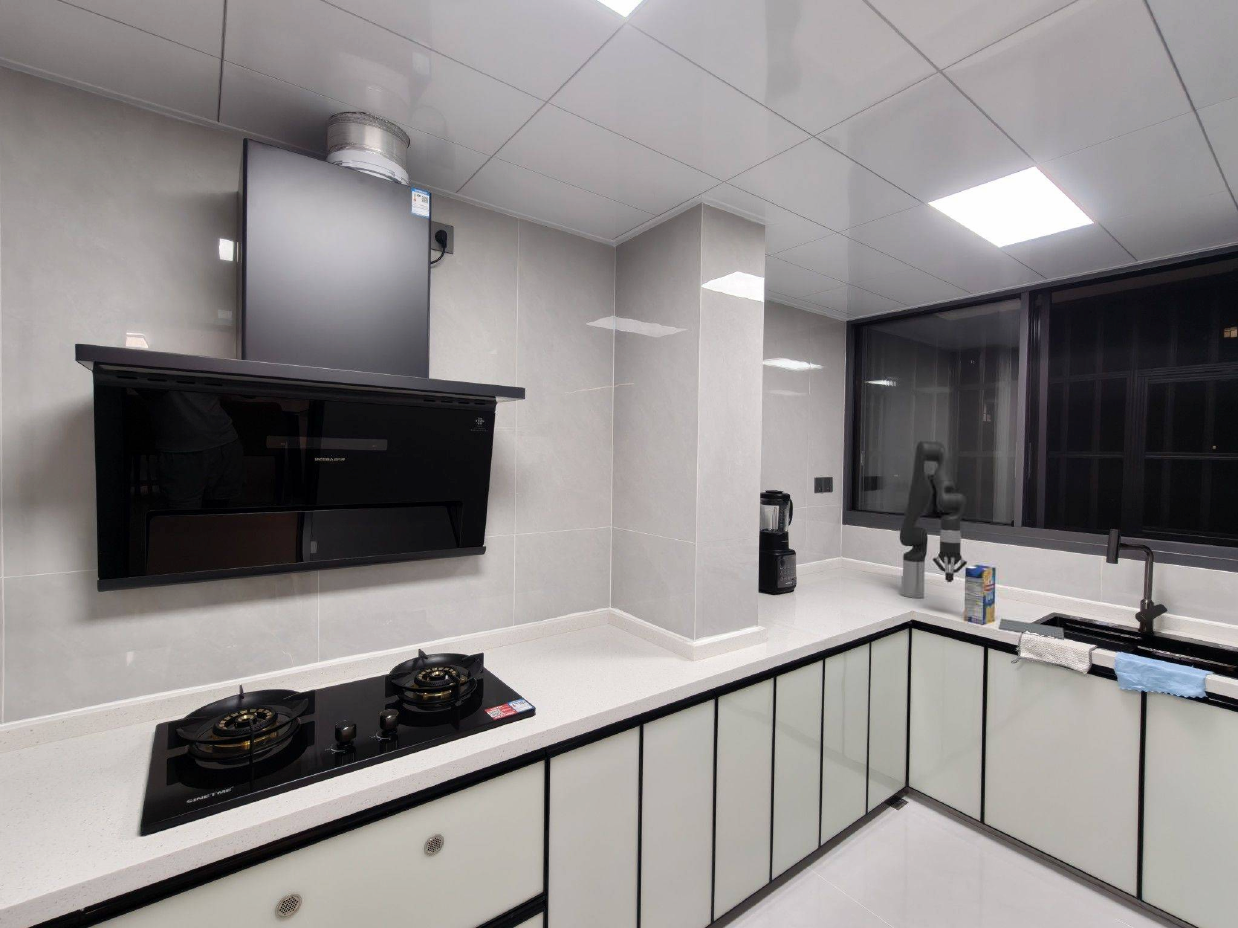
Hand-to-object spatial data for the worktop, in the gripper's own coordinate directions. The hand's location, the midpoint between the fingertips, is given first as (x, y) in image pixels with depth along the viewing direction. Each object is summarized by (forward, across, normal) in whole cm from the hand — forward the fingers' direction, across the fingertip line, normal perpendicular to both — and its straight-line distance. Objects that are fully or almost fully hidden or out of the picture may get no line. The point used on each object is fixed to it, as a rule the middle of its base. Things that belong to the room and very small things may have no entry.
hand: (949, 581), depth 235 cm
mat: (+15, +28, 0) cm, 31 cm away
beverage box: (+15, +11, 0) cm, 18 cm away
